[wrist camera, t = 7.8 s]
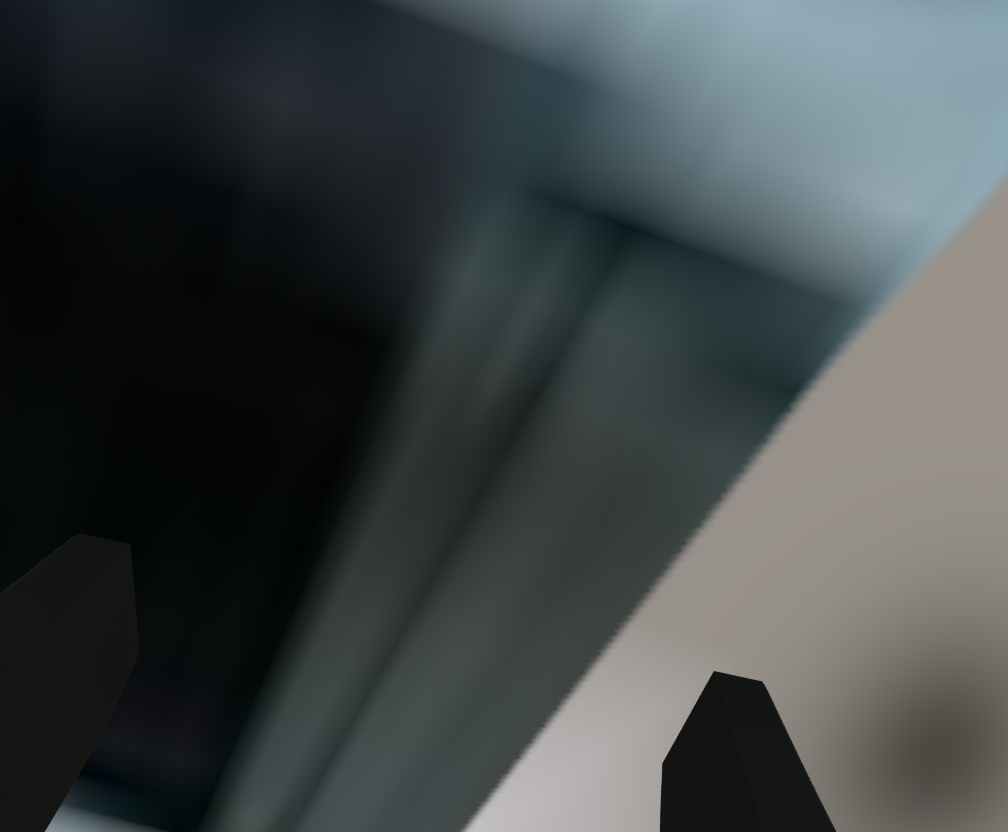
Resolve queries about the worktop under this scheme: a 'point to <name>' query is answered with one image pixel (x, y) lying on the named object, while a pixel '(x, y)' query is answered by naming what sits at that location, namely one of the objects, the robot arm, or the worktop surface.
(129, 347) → the worktop surface
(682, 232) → the worktop surface
